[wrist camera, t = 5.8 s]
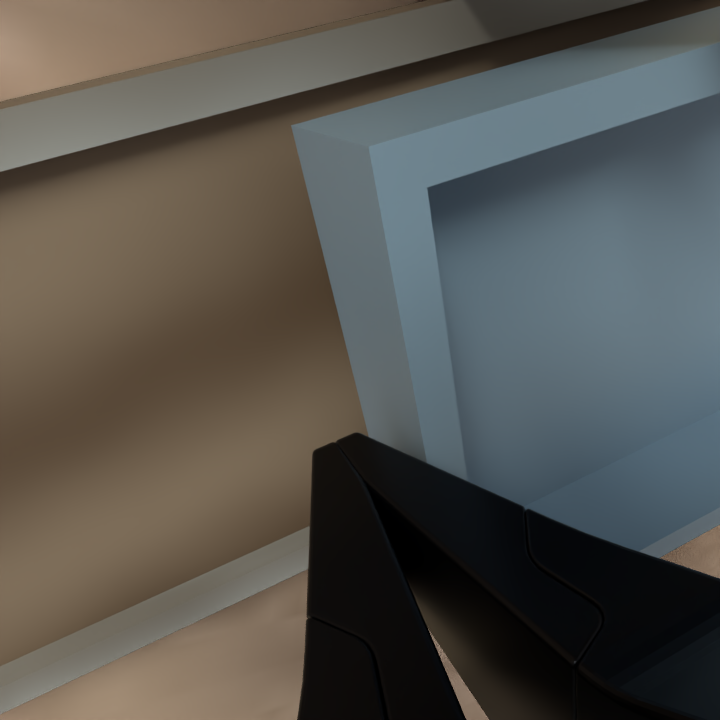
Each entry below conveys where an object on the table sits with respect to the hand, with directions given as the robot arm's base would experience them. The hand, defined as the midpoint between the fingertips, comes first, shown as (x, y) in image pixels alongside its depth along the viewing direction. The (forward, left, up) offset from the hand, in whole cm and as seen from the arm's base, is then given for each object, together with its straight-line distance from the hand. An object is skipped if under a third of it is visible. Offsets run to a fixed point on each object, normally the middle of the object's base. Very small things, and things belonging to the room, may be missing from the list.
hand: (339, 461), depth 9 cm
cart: (0, -9, -4) cm, 10 cm away
